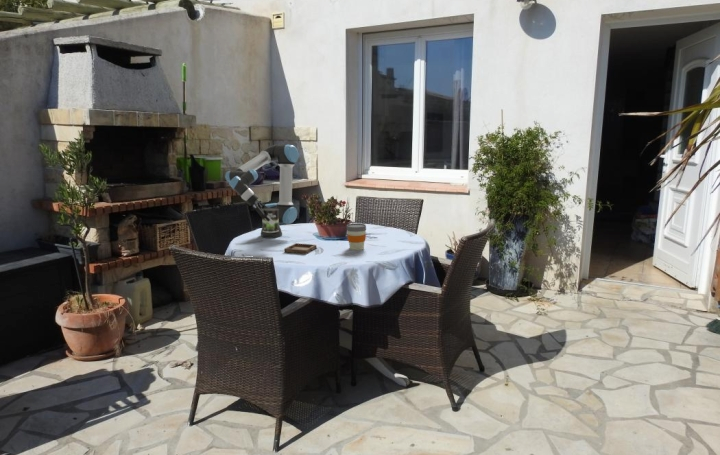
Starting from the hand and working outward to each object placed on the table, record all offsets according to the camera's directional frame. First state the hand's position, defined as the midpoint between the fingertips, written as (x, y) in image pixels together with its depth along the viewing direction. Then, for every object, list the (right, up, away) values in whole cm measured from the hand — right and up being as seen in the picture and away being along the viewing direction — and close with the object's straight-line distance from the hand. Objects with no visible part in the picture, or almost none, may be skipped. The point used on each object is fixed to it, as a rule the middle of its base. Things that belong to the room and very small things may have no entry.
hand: (275, 222), depth 331 cm
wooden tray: (+16, -18, +3) cm, 24 cm away
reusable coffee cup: (+51, -17, +6) cm, 54 cm away
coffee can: (-3, -5, +1) cm, 6 cm away
